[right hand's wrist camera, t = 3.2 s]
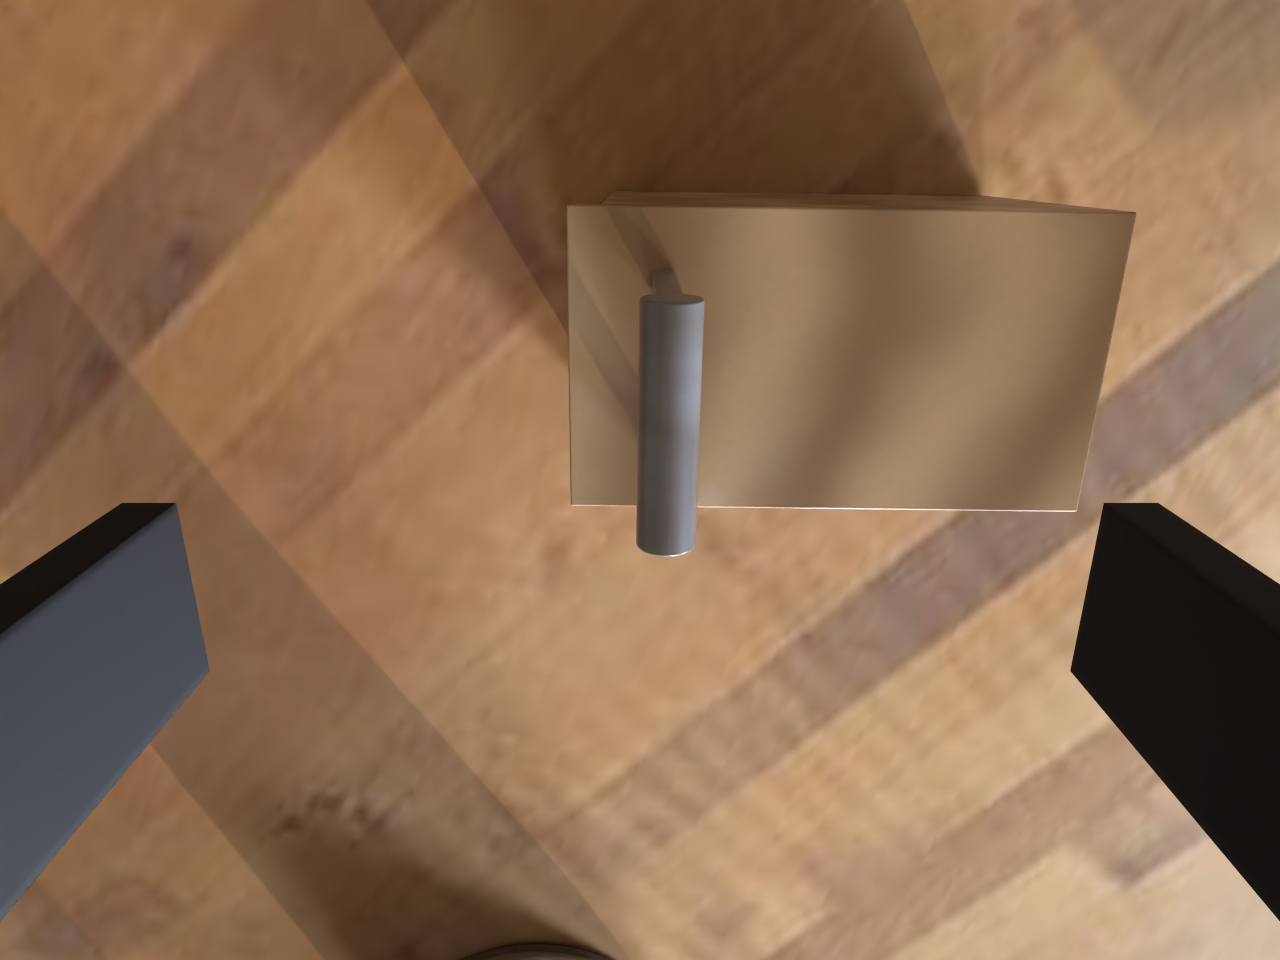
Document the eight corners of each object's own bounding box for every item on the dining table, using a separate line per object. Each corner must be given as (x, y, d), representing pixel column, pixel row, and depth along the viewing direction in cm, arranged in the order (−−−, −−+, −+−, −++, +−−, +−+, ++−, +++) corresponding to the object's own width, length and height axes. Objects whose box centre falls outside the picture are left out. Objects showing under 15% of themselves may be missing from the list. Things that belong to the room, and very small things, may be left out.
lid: (572, 496, 28) (548, 616, 21) (568, 203, 25) (538, 222, 18) (1064, 501, 28) (1214, 623, 21) (1121, 210, 25) (1322, 232, 18)
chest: (611, 409, 38) (601, 495, 28) (611, 190, 35) (600, 203, 25) (955, 413, 38) (1063, 501, 28) (986, 195, 35) (1120, 210, 25)
